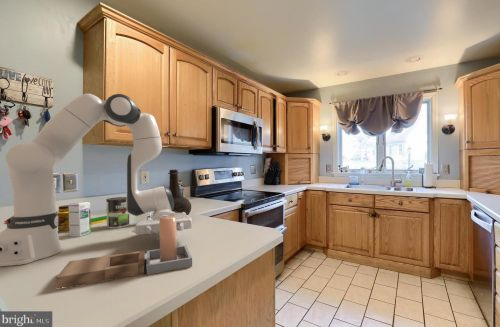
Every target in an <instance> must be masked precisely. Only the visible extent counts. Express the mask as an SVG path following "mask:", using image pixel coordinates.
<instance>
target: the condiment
mask: <svg viewBox="0 0 500 327" xmlns="http://www.w3.org/2000/svg"><path fill="white" fill-rule="evenodd" d="M57 213H58V227H57V231H58V234H59V233H60V234H61V233H70V231H69V204H67V205H66V204H65V205H59V207H58V211H57Z"/></svg>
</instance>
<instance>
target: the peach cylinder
mask: <svg viewBox="0 0 500 327" xmlns="http://www.w3.org/2000/svg"><path fill="white" fill-rule="evenodd" d="M159 222H160V233H159V249H160V257H159V263H160V262H166V261H172V260H178V255H177V247H178V246H177V245H178V240H177V239H178V238H177V230H176V217H175V216H166V217H161V218H159Z"/></svg>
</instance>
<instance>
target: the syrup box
mask: <svg viewBox="0 0 500 327" xmlns="http://www.w3.org/2000/svg"><path fill="white" fill-rule="evenodd" d="M68 205H69V231H70V232H69V237H74V238H75V237H77V238H78V237H80V238H81V237H83V236H85V235H89V234H92V227H91V226H92V225H91V219H92V217H91V202H90V201H79V202H72V203H69V204H68Z"/></svg>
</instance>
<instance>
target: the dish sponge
mask: <svg viewBox="0 0 500 327" xmlns="http://www.w3.org/2000/svg"><path fill="white" fill-rule="evenodd" d="M102 223H107V215H103V216H97V217H93V218H92V217H91V226H94V225H98V224H102Z"/></svg>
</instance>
